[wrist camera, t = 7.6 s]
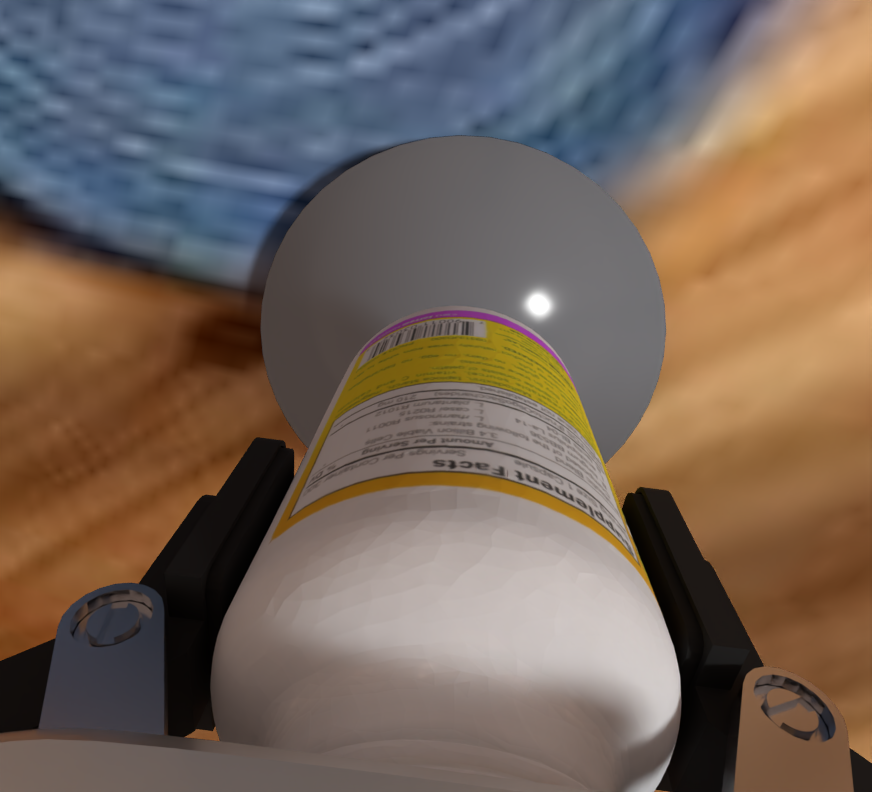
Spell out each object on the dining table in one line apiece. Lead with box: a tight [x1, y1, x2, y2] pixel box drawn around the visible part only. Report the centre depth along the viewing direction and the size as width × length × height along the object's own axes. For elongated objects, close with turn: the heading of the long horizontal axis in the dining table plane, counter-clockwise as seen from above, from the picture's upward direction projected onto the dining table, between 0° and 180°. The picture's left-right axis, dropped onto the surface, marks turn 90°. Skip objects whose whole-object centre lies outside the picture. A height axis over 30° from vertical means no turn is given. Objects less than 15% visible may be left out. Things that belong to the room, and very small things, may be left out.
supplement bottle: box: [210, 306, 681, 792], centre depth 11 cm, size 7×7×13 cm
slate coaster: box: [261, 135, 666, 464], centre depth 21 cm, size 14×14×1 cm
